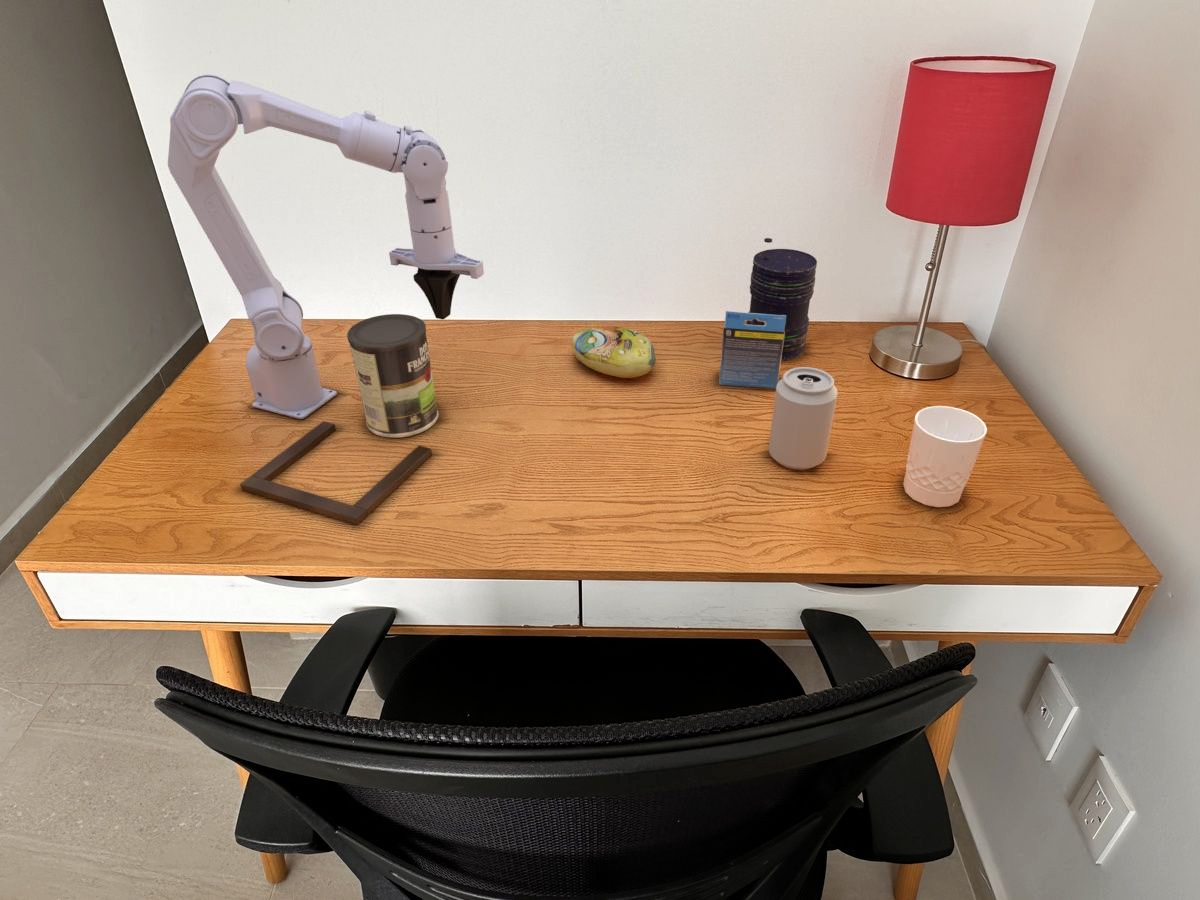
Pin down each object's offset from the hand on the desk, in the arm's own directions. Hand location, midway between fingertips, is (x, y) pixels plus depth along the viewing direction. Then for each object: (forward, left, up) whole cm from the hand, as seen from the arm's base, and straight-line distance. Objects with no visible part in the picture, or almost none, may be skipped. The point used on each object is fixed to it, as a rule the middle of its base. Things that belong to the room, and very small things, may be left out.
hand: (443, 316), depth 118 cm
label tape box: (+43, +16, -11) cm, 47 cm away
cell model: (+22, +13, -11) cm, 28 cm away
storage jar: (+44, +29, -11) cm, 54 cm away
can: (+54, -1, -11) cm, 55 cm away
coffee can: (0, -13, -11) cm, 17 cm away
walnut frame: (0, -26, -10) cm, 28 cm away
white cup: (+71, -2, -11) cm, 72 cm away
